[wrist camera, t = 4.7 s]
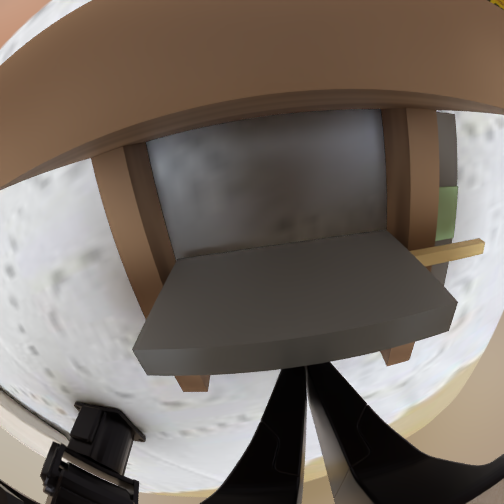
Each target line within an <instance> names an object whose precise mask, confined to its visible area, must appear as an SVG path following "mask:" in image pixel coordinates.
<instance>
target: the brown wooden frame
mask: <svg viewBox="0 0 504 504" xmlns="http://www.w3.org/2000/svg"><path fill="white" fill-rule="evenodd" d="M345 109H381V114H382V122H383V132H384V143H385V157H386V177H387V231H388V232H389V233H391V234H392V235H393V236H394V237H395V238H396V239H397V240H398V241H399V242H400V243H401V244H402V245H403V246H404V247H405V248H407V249H408V250H409V251H413V250H419V249H425V248H430V247H436V246H441V245H447V244H452V238H453V237H454V229H455V220H456V209H457V194H458V186H457V137H456V122H455V114H449V113H441V112H436V110H452V111H471V112H483V113H493V114H502V115H504V10H503V9H501V8H500V7H498V6H496V5H494V4H493V3H491V2H489V1H487V0H92V1H90V2H88V3H86V4H85V5H83V6H81V7H79V8H78V9H76V10H74V11H72V12H71V13H69V14H67V15H66V16H64V17H63V18H61V19H60V20H58V21H57V22H55V23H54V24H52V25H51V26H49V27H48V28H46V29H45V30H43V31H42V32H41V33H39V34H38V35H37V36H35V37H34V38H33V39H31V40H30V41H29V42H27V43H26V44H25V45H24V46H22V47H21V48H20V49H19V50H18V51H16V52H15V53H14V54H13V55H12V56H11V57H9V58H8V59H7V60H6V61H5V62H4V63H3V64H2V65H1V66H0V190H2V189H4V188H7V187H9V186H11V185H14V184H16V183H18V182H21V181H23V180H26V179H29V178H31V177H34V176H37V175H39V174H42V173H45V172H48V171H50V170H53V169H56V168H59V167H62V166H65V165H69V164H72V163H75V162H78V161H82V160H85V159H89V158H91V160H92V164H93V168H94V173H95V177H96V181H97V184H98V188H99V192H100V195H101V199H102V203H103V206H104V209H105V213H106V216H107V219H108V222H109V226H110V229H111V232H112V235H113V238H114V241H115V244H116V246H117V249H118V252H119V255H120V258H121V260H122V263H123V266H124V268H125V271H126V274H127V276H128V279H129V281H130V284H131V286H132V289H133V291H134V293H135V296H136V298H137V300H138V303H139V305H140V307H141V310H142V312H143V314H144V316H145V319H147V317H148V315H149V313H150V311H151V309H152V307H153V305H154V303H155V301H156V299H157V297H158V295H159V293H160V291H161V289H162V288H163V286H164V284H165V282H166V280H167V278H168V276H169V274H170V272H171V270H172V268H173V267H174V265H175V263H176V259H175V256H174V252H173V249H172V246H171V242H170V239H169V235H168V232H167V228H166V225H165V221H164V217H163V214H162V210H161V206H160V202H159V198H158V194H157V190H156V186H155V182H154V178H153V174H152V169H151V165H150V161H149V156H148V151H147V147H146V142H147V141H150V140H154V139H158V138H161V137H165V136H169V135H172V134H176V133H180V132H184V131H189V130H193V129H197V128H202V127H206V126H211V125H216V124H221V123H227V122H232V121H238V120H244V119H250V118H257V117H264V116H271V115H279V114H288V113H298V112H309V111H324V110H345ZM425 267H426V268H427V269H428V270H429V271H430V272H431V273H432V274H433V275H434V277H435V278H436V279H437V280H438V281H439V282H440V283H441V284H442V285H443V286H444V283H445V278H446V273H447V268H448V262H444V263H439V264H435V265H430V266H425ZM414 343H415V342H412V343H408V344H405V345H401V346H398V347H394V348H390V349H386V350H382V351H380V352H381V354H382V356H383V359H384V361H385V363H386V365H387V366H390V365H394V364H397V363H401V362H404V361H408V360H409V359H410V356H411V353H412V350H413V346H414ZM175 378H176V380H177V382H178V383H179V385H180V387H181V389H182V390H183V392H208V386H209V380H210V375H189V376H175Z"/></svg>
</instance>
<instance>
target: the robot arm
mask: <svg viewBox="0 0 504 504" xmlns="http://www.w3.org/2000/svg"><path fill="white" fill-rule="evenodd" d="M306 387H307V390H306ZM307 395H308V401H309V406H310V410H311V413H312V417H313V421H314V424H315V428H316V432H317V436H318V439H319V443H320V447H321V451H322V455H323V458H324V462H325V466H326V470H327V474H328V477H329V482H330V486H331V490H332V494H333V498H334V502H335V504H504V454H503V455H501V456H500V457H498V458H497V459H496V460H494V461H493V462H491V463H489V464H485V465H479V466H476V465H468V464H463V463H458V462H453V461H448V460H443V459H440V458H435V457H432V456H429V455H427V454H425V453H423V452H421V451H419V450H418V449H417V448H416V447H414V446H413V445H412V444H411V443H409V442H408V441H407V440H406V439H404V438H403V437H402V436H401V435H399V434H398V433H397V432H396V431H394V430H393V429H392V428H391V427H390V426H389V425H388V424H386V423H385V422H384V421H383V420H382V419H381V418H380V417H379V416H378V415H377V414H376V413H375V412H374V411H373V409H372V408H371V407H370V406H369V405H367V403H366V402H365V401H364V400H363V398H362V397H361V396H360V395H359V394H358V393H357V392H356V391H355V390H354V388H353V387H352V386H351V385H350V384H349V383H348V382H347V381H346V379H345V378H344V377H343V376H342V375H341V374H340V373H339V372H338V370H337V369H336V368H335V367H334V366H333V365H332V364H331V363H330V362H325V363H319V364H313V365H307V366H300V367H293V368H285V369H281V371H280V374H279V376H278V379H277V382H276V384H275V387H274V389H273V392H272V394H271V397H270V399H269V402H268V404H267V406H266V409H265V411H264V414H263V416H262V418H261V422H260V423H259V425H258V427H257V430H256V432H255V434H254V436H253V438H252V440H251V442H250V444H249V445H248V447H247V449H246V450H245V452H244V454H243V455H242V457H241V458H240V460H239V461H238V463H237V464H236V466H235V467H234V469H233V470H232V472H231V473H230V474H229V476H228V477H227V479H226V480H225V481H224V483H223V484H222V485H221V486H220V487H219V489H218V490H217V491H216V492H215V493H213V494H212V495H211V496H210V497H208V498H207V499H206V500H204V501H203V502H201V503H200V504H301V503H302V492H303V480H304V465H305V447H306V421H307ZM74 406H75V408H76V409H77V410H78V411H79V414H78V417H77V419H76V421H75V423H74V426H73V428H72V430H71V433H70V436H71V439H70V441H69V444H68V446H67V447H66V445H64V444H63V443H61V444H59V443H56V442H54V441H53V442H52V444H51V447H50V449H49V452H48V454H47V457H46V460H45V463H44V465H43V468H42V472H41V474H40V477H41V479H42V481H43V486H44V488H43V492H44V493H46V494H48V497H47V501H46V504H138V493H139V481H136V480H132V479H130V478H127V477H125V476H124V473H125V469H126V465H127V462H128V458H129V455H130V451H131V447H132V444H133V441H140V442H145V440H146V438H145V437H144V436H143V435H142V434H141V433H140V432H139V431H138V430H137V429H136V428H135V426H134V425H133V424H132V423H131V422H130V421H129V420H128V419H127V418H126V417H125V416H124V414H123V413H122V412H121V411H119V410H117V409H111V408H104V407H99V406H93V405H88V404H83V403H78V402H75V404H74ZM62 457H63V458H64V459H66V460H68V461H70V462H71V463H70V462H67V463H66V462H64V461H62ZM72 463H73V464H72ZM74 464H75V465H74ZM76 465H77V466H79V467H80V468H79V467H77V466H76ZM81 468H82V469H81ZM83 469H84V470H83ZM85 470H86V471H85ZM87 471H88V472H87ZM89 472H90V473H89ZM91 473H92V474H91ZM93 474H94V475H93ZM95 475H96V476H95ZM97 476H98V477H97ZM99 477H100V478H99ZM101 478H103V479H105V480H103V479H101ZM106 480H107V481H106ZM108 481H109V482H108ZM110 482H111V483H110ZM112 483H114V484H112ZM115 484H116V485H115ZM117 485H118V486H117ZM0 504H40V503H38V502H36V501H34V500H33V499H31V498H29V497H27V496H26V495H24V494H22V493H21V492H19V491H18V490H16V489H14V488H13V487H11V486H10V485H8V484H7V483H5V482H4V481H2V480H1V479H0Z"/></svg>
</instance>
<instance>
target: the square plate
mask: <svg viewBox="0 0 504 504" xmlns="http://www.w3.org/2000/svg"><path fill="white" fill-rule="evenodd" d="M0 427H2V428H3V429H4V430H5V431H7V432H8V433H9V434H10V435H12V436H13V437H14V438H15V439H17V440H18V441H20V442H21V443H22V444H24V445H25V446H27V447H28V448H30V449H31V450H33V451H35V452H36V453H38V454H40V455H41V456H43V457H45V458H46V457H47V454H48V452H49V449H50V447H51V444H52V442H53V441H54V442H56V443H59V444H61V443H63V444H64V445H66V447H67V446H68V444H69V441H68V439H67V438H66V437H65V436H64V435H62V434H61V433H60V432H58V431H57V430H55V429H53V428H52V427H51V426H49V425H48V424H47V423H45V422H44V421H42V420H41V419H39V418H38V417H36V416H35V415H34V414H32V413H31V412H29V411H28V410H26V409H25V408H24V407H22V406H21V405H20V404H18V403H17V402H16V401H14V400H13V399H12V398H10V397H9V396H8V395H7V394H6V393H4V392H3V391H2V390H1V389H0ZM62 461H64V462H66V463H67V462H70V461H68V460H66V459H64V458H63V457H62ZM70 463H71V462H70Z"/></svg>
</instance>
